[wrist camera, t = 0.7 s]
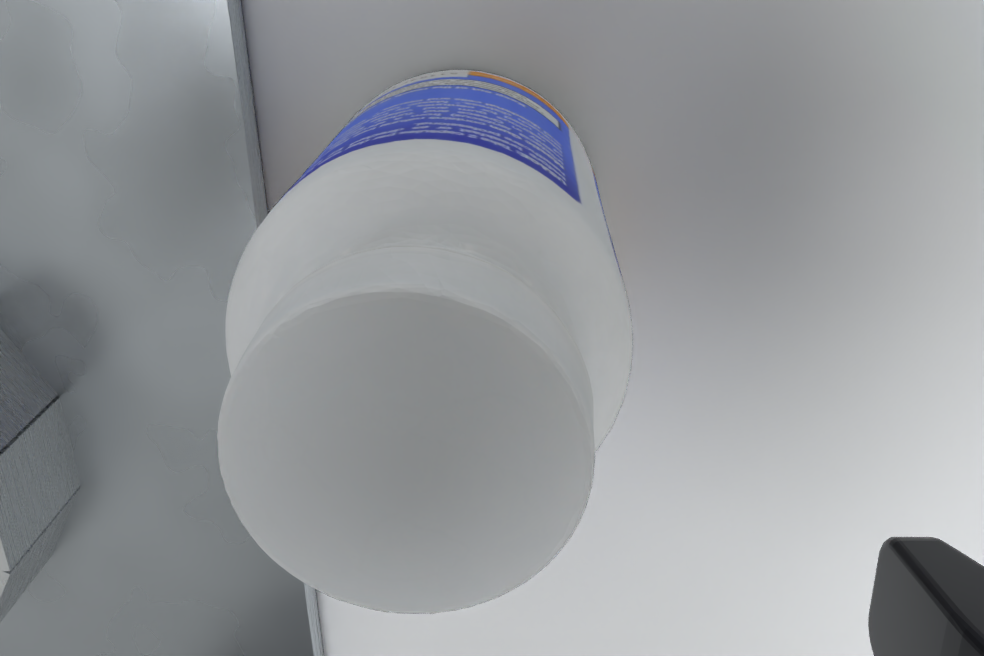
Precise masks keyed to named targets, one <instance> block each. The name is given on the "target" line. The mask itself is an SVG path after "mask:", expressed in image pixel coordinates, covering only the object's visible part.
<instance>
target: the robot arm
mask: <svg viewBox="0 0 984 656" xmlns="http://www.w3.org/2000/svg"><path fill="white" fill-rule="evenodd" d="M868 626H869V636H870V642H871V646H872V650H873V654H874V656H984V566H982V565H981V564H979V563H977V562H976V561H974V560H973V559H971V558H969V557H968V556H966V555H965V554H963V553H961V552H960V551H958V550H957V549H955V548H953V547H952V546H950V545H949V544H947V543H945V542H944V541H942V540H940V539H937V538H933V537H891V538H889V539H888V540H886V541H885V542H884V543H883V545H882V547H881V549H880V553H879V557H878V563H877V569H876V575H875V581H874V587H873V593H872V599H871V605H870V611H869V622H868Z"/></svg>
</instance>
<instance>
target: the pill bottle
mask: <svg viewBox="0 0 984 656" xmlns="http://www.w3.org/2000/svg"><path fill="white" fill-rule="evenodd" d="M225 337H226V352H227V358H228V363H229V369H230V374H231V378H230V380H229V383H228V386H227V388H226V391H225V394H224V398H223V401H222V405H221V409H220V414H219V420H218V434H217V440H218V458H219V465H220V471H221V476H222V478H223V481H224V484H225V490H226V492H227V494H228V496H229V498H230V500H231V504H232V506H233V508H234V510H235V511H236V513H237V515H238V517H239V519H240V520H241V522H242V524H243V525H244V527H245V528H246V529H247V531H248V532H249V534H250V535H251V536H252V538H253V539H254V540H255V541H256V543H257V544H258V545H259V547H260V548H261V549H262V550H263V551H264V552H265V553H266V554H267V555H268V556H269V557H270V558H271V559H272V560H273V561H275V562H276V563H277V564H278V565H280V566H281V567H282V568H283V569H285V570H286V571H287V572H289V573H290V574H291V575H293V576H294V577H296V578H297V579H299V580H301V581H302V582H304V583H306V584H307V585H309V586H310V587H312V588H314V589H316V590H318V591H320V592H322V593H324V594H326V595H327V596H330V597H332V598H335V599H338V600H341V601H344V602H347V603H351V604H354V605H358V606H361V607H364V608H368V609H373V610H378V611H383V612H394V613H409V614H419V613H439V612H446V611H454V610H458V609H463V608H468V607H471V606H474V605H477V604H480V603H483V602H486V601H489V600H492V599H494V598H497V597H500V596H502V595H503V594H505V593H507V592H509V591H511V590H513V589H515V588H517V587H518V586H520V585H522V584H524V583H525V582H527V581H528V580H529V579H531V578H532V577H533V576H535V575H536V574H537V573H538V572H540V571H541V570H542V569H543V568H544V567H545V566H547V565H548V564H549V563H550V562H551V561H552V559H553V558H554V557H555V556H556V555H557V554H558V553H559V552H560V550H561V549H562V548H563V547H564V545H565V544H566V543H567V541H568V540H569V539H570V537H571V536H572V534H573V533H574V531H575V529H576V527H577V525H578V523H579V521H580V519H581V517H582V515H583V513H584V510H585V508H586V505H587V502H588V498H589V495H590V491H591V488H592V482H593V474H594V463H595V452H596V451H597V450H598V448H599V447H600V445H601V444H602V442H603V441H604V439H605V437H606V436H607V434H608V433H609V431H610V430H611V428H612V426H613V424H614V421H615V419H616V417H617V415H618V412H619V410H620V408H621V406H622V403H623V400H624V397H625V393H626V390H627V386H628V381H629V376H630V371H631V363H632V349H633V333H632V321H631V314H630V307H629V302H628V298H627V294H626V290H625V286H624V282H623V279H622V275H621V271H620V268H619V265H618V261H617V258H616V254H615V251H614V247H613V244H612V240H611V237H610V233H609V230H608V226H607V223H606V219H605V215H604V212H603V208H602V204H601V200H600V195H599V191H598V187H597V182H596V178H595V175H594V172H593V169H592V166H591V163H590V161H589V158H588V156H587V153H586V151H585V148H584V146H583V145H582V143H581V141H580V139H579V137H578V136H577V134H576V132H575V131H574V129H573V128H572V126H571V125H570V124H569V122H568V121H567V120H566V119H565V118H564V116H563V115H562V114H561V113H560V112H559V111H558V110H557V109H556V108H555V107H554V106H553V105H552V104H551V103H550V102H548V101H547V100H546V99H545V98H543V97H542V96H541V95H539V94H538V93H536V92H535V91H533V90H531V89H530V88H528V87H526V86H524V85H522V84H520V83H518V82H516V81H513V80H511V79H508V78H506V77H503V76H499V75H495V74H491V73H487V72H482V71H472V70H447V71H438V72H432V73H426V74H422V75H419V76H416V77H412V78H409V79H407V80H405V81H402V82H400V83H398V84H396V85H394V86H392V87H390V88H388V89H387V90H385V91H384V92H382V93H381V94H379V95H378V96H376V97H375V98H373V99H372V100H371V101H370V102H368V103H367V104H366V105H365V106H364V107H363V108H362V109H361V110H360V111H359V112H357V113H356V114H355V116H354V117H353V118H352V119H351V120H350V121H349V122H348V123H347V124H346V126H345V127H344V128H343V129H342V130H341V131H340V133H339V134H338V135H337V136H336V137H335V138H334V139H333V141H332V142H331V143H330V144H329V145H328V146H327V148H326V149H325V150H324V151H323V152H322V153H321V154H320V155H319V157H318V158H317V159H316V160H315V161H314V162H313V163H312V165H311V166H310V167H309V168H308V169H307V170H306V171H305V173H304V174H303V175H302V176H301V177H300V178H299V179H298V180H297V182H296V183H295V184H294V185H293V186H292V187H291V188H290V189H289V190H288V191H287V192H286V193H285V194H284V196H283V197H282V198H281V199H280V200H279V201H278V203H277V204H276V205H275V206H274V207H273V209H272V210H271V211H270V212H269V214H268V215H267V216H266V218H265V219H264V220H263V222H262V223H261V224H260V226H259V227H258V228H257V230H256V231H255V233H254V234H253V236H252V238H251V240H250V241H249V243H248V245H247V246H246V248H245V250H244V252H243V254H242V256H241V259H240V261H239V263H238V266H237V269H236V272H235V275H234V278H233V281H232V284H231V288H230V292H229V297H228V303H227V309H226V320H225Z"/></svg>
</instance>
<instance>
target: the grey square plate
mask: <svg viewBox="0 0 984 656" xmlns="http://www.w3.org/2000/svg"><path fill="white" fill-rule="evenodd" d="M267 215H268V212H267V204H266V196H265V188H264V180H263V172H262V164H261V156H260V149H259V141H258V133H257V125H256V117H255V109H254V101H253V93H252V85H251V78H250V70H249V62H248V54H247V46H246V38H245V30H244V22H243V15H242V7H241V0H0V656H324V653H323V645H322V638H321V630H320V622H319V614H318V606H317V598H316V590H315V589H314V588H312V587H310V586H309V585H307V584H306V583H304V582H302V581H301V580H299V579H297V578H296V577H294V576H293V575H291V574H290V573H289V572H287V571H286V570H285V569H283V568H282V567H281V566H280V565H278V564H277V563H276V562H275V561H273V560H272V559H271V558H270V557H269V556H268V555H267V554H266V553H265V552H264V551H263V550H262V549H261V548H260V547H259V545H258V544H257V543H256V541H255V540H254V539H253V538H252V536H251V535H250V534H249V532H248V531H247V529H246V528H245V527H244V525H243V524H242V522H241V520H240V519H239V517H238V515H237V513H236V511H235V510H234V508H233V506H232V504H231V500H230V498H229V496H228V494H227V492H226V490H225V484H224V481H223V478H222V476H221V471H220V465H219V458H218V440H217V434H218V420H219V414H220V409H221V405H222V401H223V398H224V394H225V391H226V388H227V386H228V383H229V380H230V378H231V374H230V369H229V363H228V358H227V352H226V337H225V320H226V309H227V303H228V297H229V292H230V288H231V284H232V281H233V278H234V275H235V272H236V269H237V266H238V263H239V261H240V259H241V256H242V254H243V252H244V250H245V248H246V246H247V245H248V243H249V241H250V240H251V238H252V236H253V234H254V233H255V231H256V230H257V228H258V227H259V226H260V224H261V223H262V222H263V220H264V219H265V218H266V216H267Z"/></svg>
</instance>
